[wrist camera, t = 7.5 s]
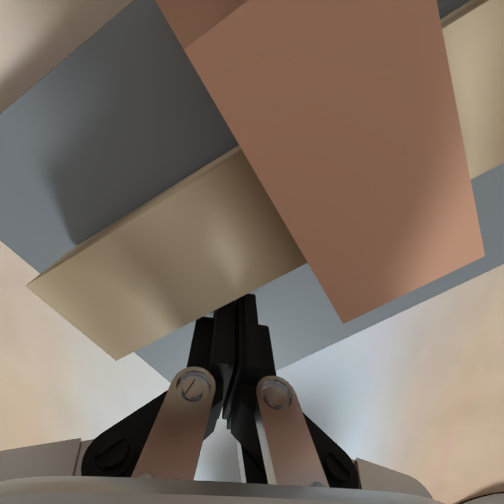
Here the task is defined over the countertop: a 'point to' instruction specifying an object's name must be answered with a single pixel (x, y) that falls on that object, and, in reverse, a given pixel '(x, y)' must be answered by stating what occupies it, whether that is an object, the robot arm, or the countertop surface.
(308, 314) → the slate board
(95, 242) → the maple link
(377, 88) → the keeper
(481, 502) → the mechanical component
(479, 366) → the countertop surface
